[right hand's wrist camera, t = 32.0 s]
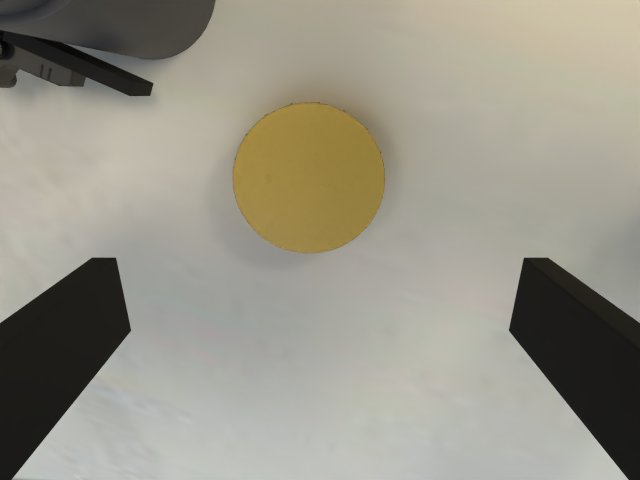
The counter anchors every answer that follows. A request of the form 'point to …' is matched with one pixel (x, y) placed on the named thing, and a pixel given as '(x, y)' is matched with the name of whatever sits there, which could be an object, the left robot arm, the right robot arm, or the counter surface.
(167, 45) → the jar
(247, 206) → the lid
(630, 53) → the counter surface
